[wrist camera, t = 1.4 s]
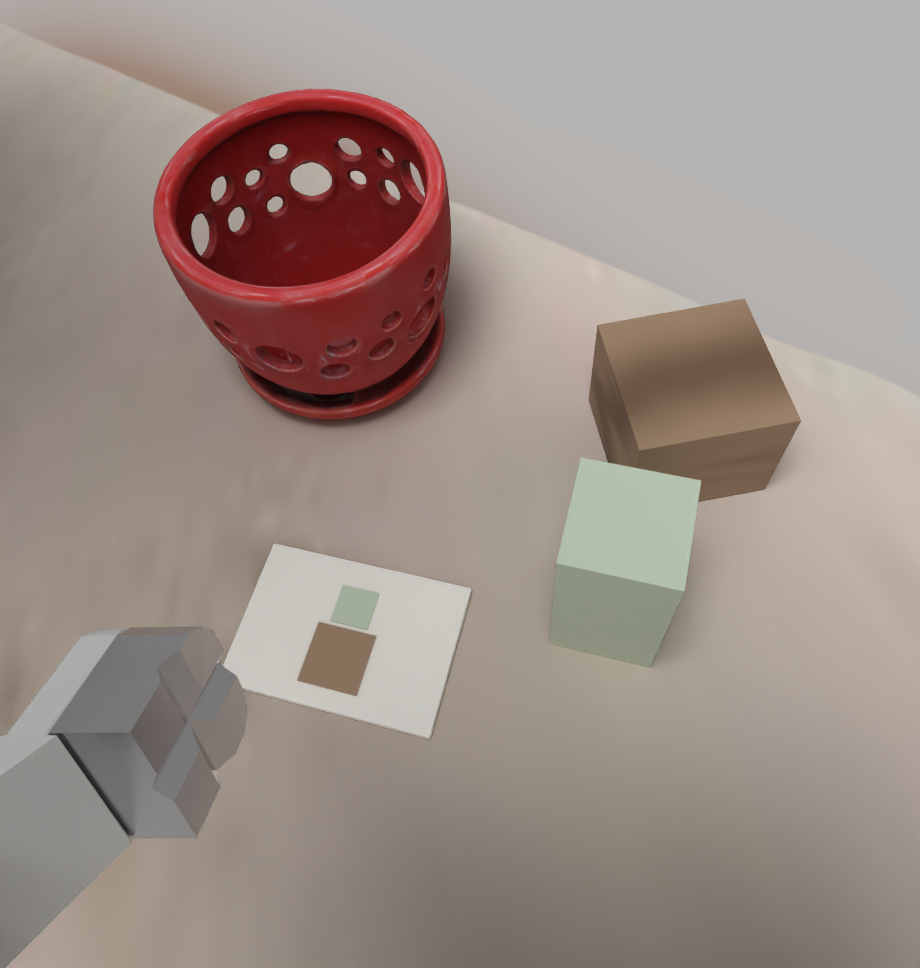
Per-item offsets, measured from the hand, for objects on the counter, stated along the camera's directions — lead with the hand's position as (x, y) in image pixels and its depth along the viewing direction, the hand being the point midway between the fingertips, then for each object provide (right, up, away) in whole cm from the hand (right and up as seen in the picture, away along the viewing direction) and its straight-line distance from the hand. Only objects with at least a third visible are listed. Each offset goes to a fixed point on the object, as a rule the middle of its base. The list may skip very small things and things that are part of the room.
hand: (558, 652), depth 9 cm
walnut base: (+10, +4, +32) cm, 34 cm away
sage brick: (+6, -4, +28) cm, 29 cm away
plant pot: (-7, +9, +37) cm, 39 cm away
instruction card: (-6, -5, +28) cm, 30 cm away
